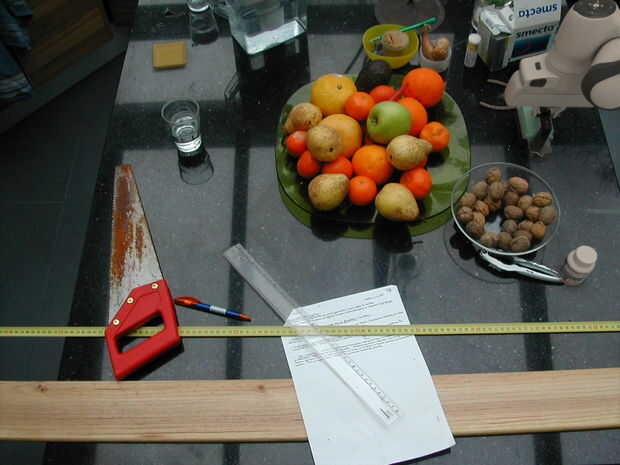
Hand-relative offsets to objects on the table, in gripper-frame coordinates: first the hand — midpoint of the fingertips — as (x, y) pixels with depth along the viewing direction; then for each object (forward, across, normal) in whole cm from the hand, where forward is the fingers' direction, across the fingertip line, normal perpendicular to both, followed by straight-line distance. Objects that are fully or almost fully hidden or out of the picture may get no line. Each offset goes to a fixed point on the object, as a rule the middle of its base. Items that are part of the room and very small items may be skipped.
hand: (542, 116), depth 129 cm
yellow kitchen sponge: (+8, +92, -26) cm, 96 cm away
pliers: (+8, +1, -13) cm, 15 cm away
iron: (+8, 0, 0) cm, 8 cm away
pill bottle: (+8, -2, +36) cm, 37 cm away
